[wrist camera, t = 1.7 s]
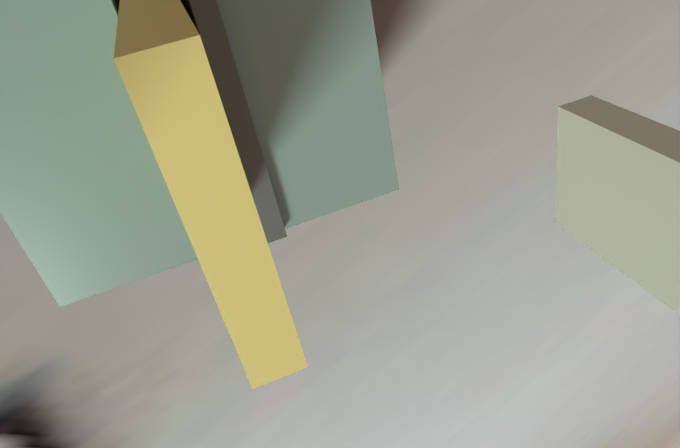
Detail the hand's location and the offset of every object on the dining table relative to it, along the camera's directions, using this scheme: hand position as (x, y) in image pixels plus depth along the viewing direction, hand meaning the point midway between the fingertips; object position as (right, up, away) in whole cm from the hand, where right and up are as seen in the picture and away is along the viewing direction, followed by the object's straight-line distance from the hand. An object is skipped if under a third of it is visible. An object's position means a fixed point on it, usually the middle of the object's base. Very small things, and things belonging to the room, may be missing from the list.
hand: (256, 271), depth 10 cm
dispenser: (-6, +9, +15) cm, 19 cm away
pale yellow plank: (-6, +8, +14) cm, 17 cm away
